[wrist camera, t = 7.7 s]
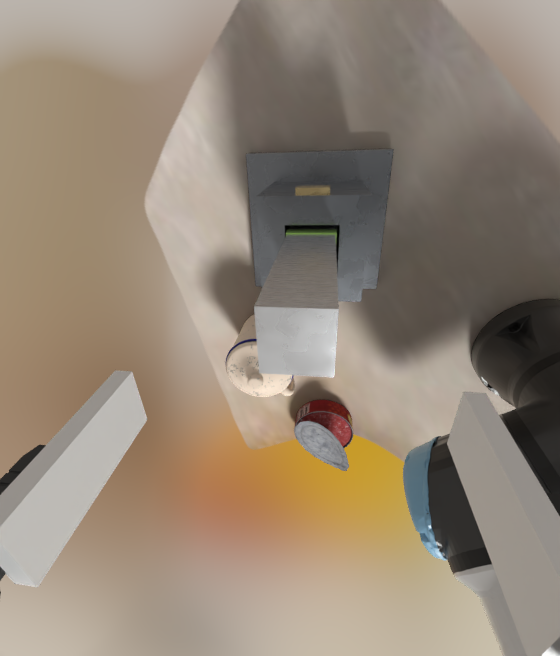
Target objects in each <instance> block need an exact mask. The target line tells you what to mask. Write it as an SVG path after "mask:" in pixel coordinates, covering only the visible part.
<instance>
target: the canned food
mask: <svg viewBox="0 0 560 656" xmlns="http://www.w3.org/2000/svg"><path fill="white" fill-rule="evenodd" d="M294 432H295V436H296V438H297V440H298V441H299V443H300V444H301V445H302V446H303V447H304V448H305V450H307V451H308V452H310V453H311V454H312V455H313V456H314V457H316V458H318V459H320V460H322V461H324V462H325V463H327V464H330V465H332V466H334V467H336V468H339V469H341V470H343V471H347V469H348V467H349V464H348V460H347V456H346V453H345V451H344V448H345V447H347V446H348V445H349V444H350V442H351V440H352V438H353V428H352V418H351V415H350V413H349V411H348V410H347V409H346V408H345V407H343V406H342V405H340V404H338V403H336V402H333V401H330V400H315V401H311V402H308V403H306V404H304V405H303V406H302V407H301V408H300V409H299V410H298V412H297V415H296V422H295V429H294Z"/></svg>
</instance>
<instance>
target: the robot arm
mask: <svg viewBox="0 0 560 656" xmlns="http://www.w3.org/2000/svg"><path fill="white" fill-rule="evenodd" d="M471 358H472V364H473V367H474V370H475V372H476V373H477V375H478V376H479V378H480V380H481V381H482V383H483V384H484V385H485V386H486V387H487V388H488V389H489V390H491V391H492V392H493V393H495V394H497V395H499V396H500V397H501V398H502V399H504V400H505V401H506V402H508V403H509V404H511V405H512V406H514V407H515V408H516V409H515V410H512V411H510V412H507V413H504V414H501V415H498V413H497V411H496V410H495V408H494V406H493V405H492V403H491V401H490V400H489V398H488V396H487V395H486V393H474V392H463V395H462V398H461V401H460V404H459V407H458V410H457V414H456V417H455V420H454V423H453V426H452V429H451V432H450V434H448V435H445V436H442V437H441V436H438V437H435V438H434V439H432V440H431V441H430V442H428V443H425V444H423V445H421V446H419V447H416V448H414V449H413V450H411V451H410V452H409V453H408V455H407V457H406V459H405V464H404V468H403V481H404V489H405V495H406V500H407V504H408V508H409V511H410V514H411V517H412V520H413V523H414V526H415V528H416V530H417V531H418V532H419V533H420V537H421V541H422V542H423V544H424V546H425V548H426V549H427V550H428V551H429V552H430V553H431V554H432V555H433V556H434V557H436V558H440V559H442V560H448V562H449V565H450V567H451V570H452V572H453V575H454V577H455V579H457V580H458V581H460V582H461V583H462V584H464V585H465V586H466V587H468V588H469V589H471V590H472V591H473V592H474V593H475V594H476V595H477V596H478V597H479V598H480V601H481V603H482V606H483V608H484V611H485V613H486V616H487V618H488V620H489V623H490V625H491V627H492V630H493V633H494V635H495V637H496V640H497V642H498V644H499V647H500V650H501V652H502V654H503V656H560V300H556V299H544V300H535V301H530V302H526V303H523V304H520V305H517V306H515V307H512V308H510V309H508V310H506V311H504V312H503V313H501V314H499V315H498V316H497V317H495V318H494V319H493V320H491V321H490V322H489V323H488V324H487V325H486V326H485V327H484V328H483V329H482V331H481V332H480V333H479V335H478V337H477V338H476V340H475V342H474V345H473V348H472V355H471ZM146 420H147V417H146V414H145V411H144V408H143V404H142V401H141V398H140V395H139V393H138V389H137V386H136V382H135V379H134V376H133V373H132V372H129V371H115V372H114V373H113V374H112V375H111V376H110V377H109V378H108V379H107V380H106V381H105V382H104V383H103V384H102V385H101V387H100V388H99V389H98V390H97V391H96V392H95V393H94V394H93V395H92V396H91V397H90V398H89V400H88V401H87V402H86V403H85V404H84V405H83V406H82V407H81V408H80V409H79V410H78V411H77V413H76V414H75V415H74V416H73V417H72V418H71V419H70V420H69V421H68V422H67V423H66V424H65V426H64V427H63V428H62V429H61V430H60V431H59V432H58V433H57V434H56V435H55V436H54V437H53V439H52V440H51V441H50V442H49V443H48V444H47V445H38V446H37V447H36V448H34V449H33V450H31V451H30V452H28V453H27V454H25V455H24V456H23V457H22V458H21V459H20V460H19V461H18V462H17V463H16V464H15V465H14V466H13V467H12V468H11V469H10V470H9V473H6V474H5V475H4V476H3V477H2V478H1V479H0V580H1V579H2V578H3V576H4V575H5V574H6V575H7V576H8V577H9V578H10V579H11V580H12V581H13V582H14V584H21V585H27V586H33V587H38V586H39V584H40V583H41V581H42V580H43V578H44V577H45V575H46V574H47V572H48V571H49V569H50V568H51V566H52V565H53V563H54V562H55V560H56V559H57V557H58V555H59V554H60V552H61V551H62V549H63V548H64V546H65V545H66V543H67V542H68V540H69V539H70V537H71V535H72V534H73V532H74V531H75V529H76V528H77V526H78V525H79V523H80V522H81V520H82V519H83V517H84V515H85V514H86V513H87V511H88V509H89V508H90V506H91V505H92V503H93V502H94V500H95V499H96V497H97V496H98V494H99V493H100V491H101V489H102V488H103V486H104V485H105V483H106V482H107V480H108V479H109V477H110V476H111V474H112V473H113V471H114V470H115V468H116V467H117V465H118V463H119V462H120V460H121V459H122V457H123V456H124V454H125V453H126V451H127V450H128V448H129V447H130V445H131V443H132V442H133V440H134V439H135V437H136V435H137V434H138V433H139V431H140V429H141V428H142V427H143V425H144V424H145V422H146ZM0 593H1V592H0Z"/></svg>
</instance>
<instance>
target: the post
mask: <svg viewBox="0 0 560 656" xmlns="http://www.w3.org/2000/svg"><path fill="white" fill-rule="evenodd" d="M336 237H337V229H335V225H291V226H290V229H289V230H287V231H286V237H285V240H284V242H283V244H282V246H281V248H280V251H279V253H278V255H277V257H276V259H275V262H274V264H273V266H272V268H271V270H270V272H269V275H268V277H267V279H266V281H265V283H264V286H263V288H262V290H261V292H260V294H259V297H258V299H257V301H256V303H255V305H254V313H255V326H256V338H257V351H258V363H259V373H265V374H282V375H299V376H316V377H333V378H334V374H335V359H336V343H337V327H338V311H339V306H338V282H337V258H336Z"/></svg>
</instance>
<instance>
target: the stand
mask: <svg viewBox="0 0 560 656" xmlns="http://www.w3.org/2000/svg"><path fill="white" fill-rule="evenodd" d="M393 150H394V149H368V150H336V151H305V152H273V153H248V154H246V160H247V174H248V187H249V201H250V214H251V228H252V241H253V255H254V268H255V282H256V286H262V288H263V286H264V283H265V281H266V279H267V277H268V275H269V272H270V270H271V268H272V266H273V264H274V262H275V259H276V257H277V255H278V253H279V251H280V248H281V246H282V244H283V242H284V240H285V237H286V231H287V230H289V229H290V226H291V225H335V229H337V237H336V258H337V282H338V301H348V302H361V298H362V289H376V288H377V280H378V272H379V264H380V256H381V248H382V240H383V231H384V223H385V215H386V207H387V199H388V191H389V183H390V175H391V166H392V158H393Z"/></svg>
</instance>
